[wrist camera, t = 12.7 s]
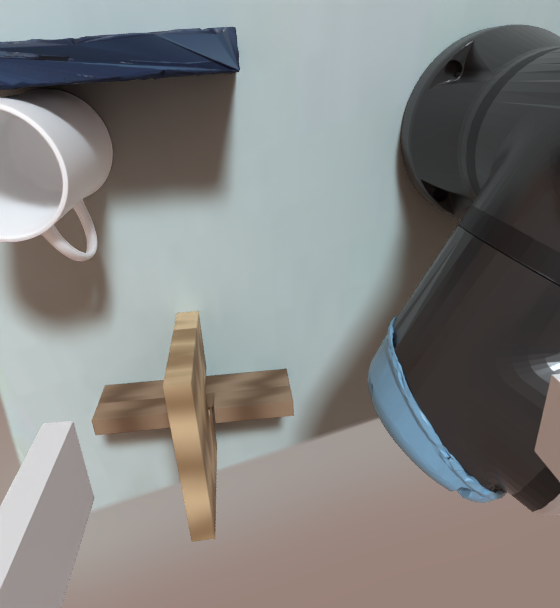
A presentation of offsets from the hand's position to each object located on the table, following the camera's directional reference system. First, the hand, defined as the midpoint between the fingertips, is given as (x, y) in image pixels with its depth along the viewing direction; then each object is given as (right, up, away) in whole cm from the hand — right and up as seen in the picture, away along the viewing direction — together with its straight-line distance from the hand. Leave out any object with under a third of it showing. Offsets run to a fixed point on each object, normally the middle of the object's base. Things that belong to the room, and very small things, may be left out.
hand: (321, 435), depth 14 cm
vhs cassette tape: (-14, +22, +24) cm, 35 cm away
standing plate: (-9, -4, +36) cm, 38 cm away
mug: (-18, +15, +26) cm, 35 cm away
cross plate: (-9, -4, +36) cm, 38 cm away
